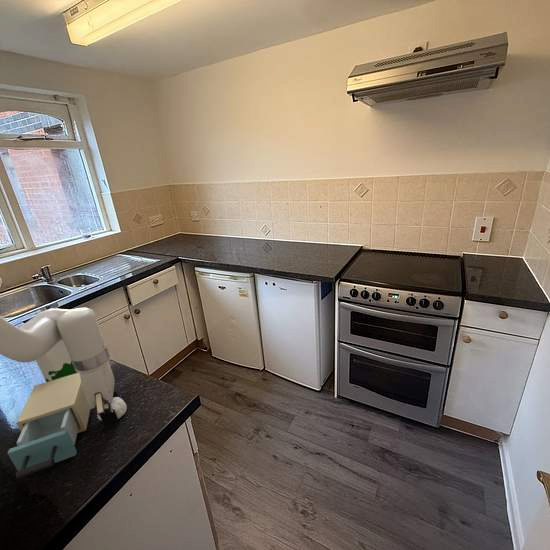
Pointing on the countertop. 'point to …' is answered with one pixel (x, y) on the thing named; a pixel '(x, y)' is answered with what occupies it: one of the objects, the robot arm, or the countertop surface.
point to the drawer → (45, 442)
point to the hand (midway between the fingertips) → (112, 413)
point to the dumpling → (116, 407)
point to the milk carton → (56, 363)
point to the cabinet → (57, 401)
